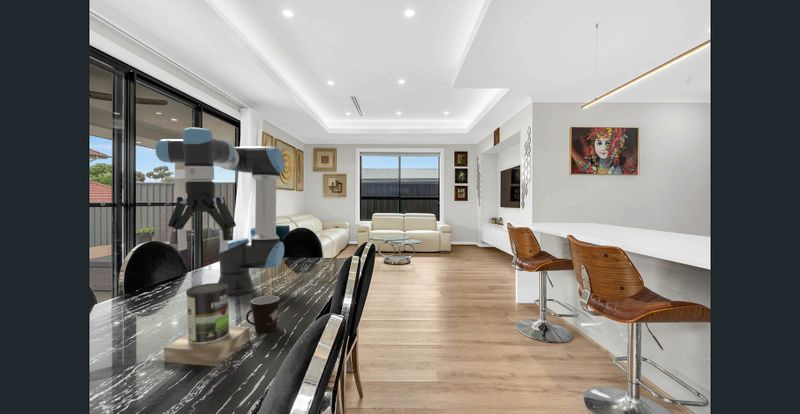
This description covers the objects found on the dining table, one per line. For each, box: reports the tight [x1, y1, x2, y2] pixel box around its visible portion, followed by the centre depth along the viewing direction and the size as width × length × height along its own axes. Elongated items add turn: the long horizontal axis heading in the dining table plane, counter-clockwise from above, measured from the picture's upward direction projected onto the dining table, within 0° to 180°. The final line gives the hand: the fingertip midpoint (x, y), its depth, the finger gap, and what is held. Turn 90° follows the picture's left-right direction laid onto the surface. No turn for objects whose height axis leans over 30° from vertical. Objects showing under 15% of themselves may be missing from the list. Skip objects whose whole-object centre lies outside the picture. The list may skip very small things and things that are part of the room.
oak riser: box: [163, 325, 251, 367], centre depth 94 cm, size 15×15×4 cm
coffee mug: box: [245, 294, 280, 335], centre depth 107 cm, size 12×9×10 cm
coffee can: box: [185, 282, 230, 345], centre depth 94 cm, size 10×10×14 cm
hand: (203, 250), depth 102 cm, fingers open, 13 cm apart
